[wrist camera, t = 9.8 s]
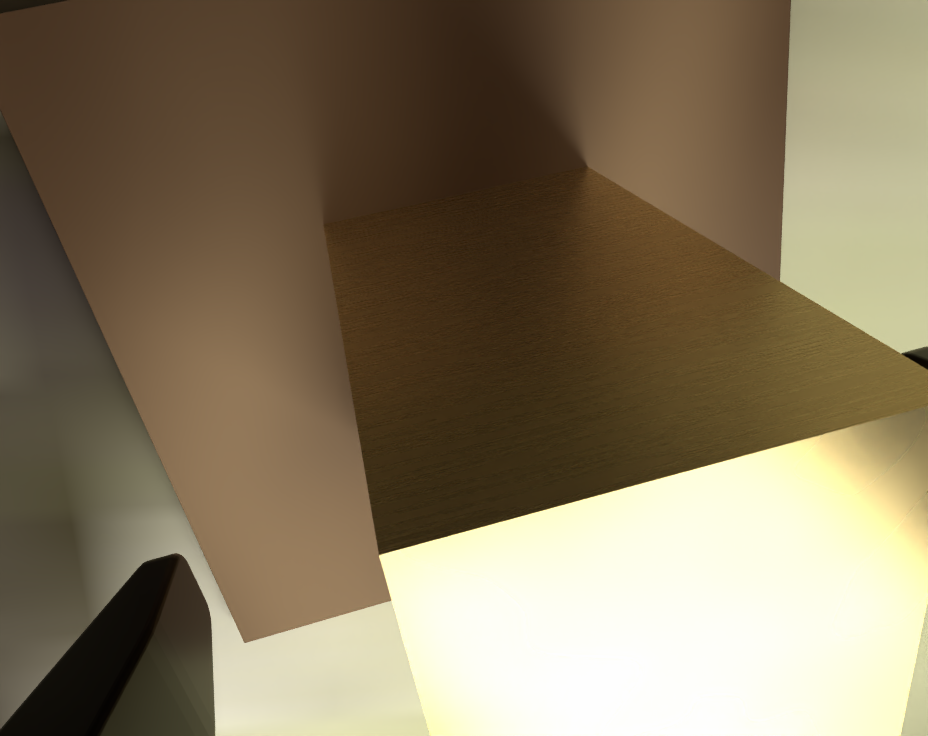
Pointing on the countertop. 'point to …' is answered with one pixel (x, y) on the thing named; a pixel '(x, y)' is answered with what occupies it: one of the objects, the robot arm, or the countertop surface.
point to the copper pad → (346, 208)
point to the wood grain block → (629, 473)
